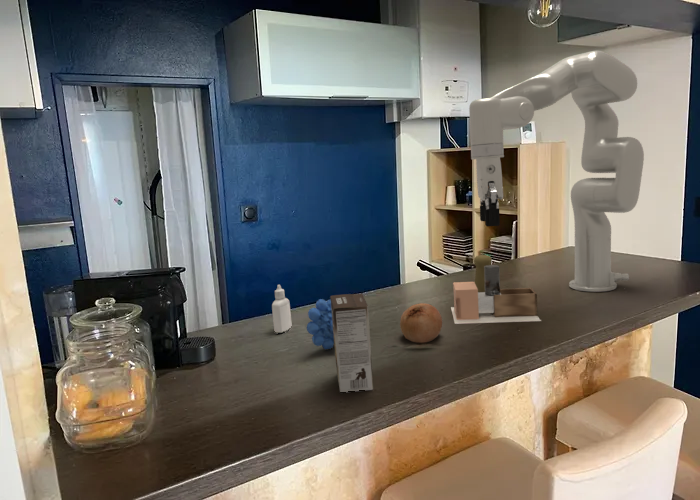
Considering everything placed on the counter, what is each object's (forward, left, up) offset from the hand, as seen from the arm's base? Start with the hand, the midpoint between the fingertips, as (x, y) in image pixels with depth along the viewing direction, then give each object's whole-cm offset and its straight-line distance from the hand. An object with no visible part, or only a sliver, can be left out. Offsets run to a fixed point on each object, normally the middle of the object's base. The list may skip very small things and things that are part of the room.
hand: (489, 223), depth 127 cm
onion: (+18, +16, -24) cm, 34 cm away
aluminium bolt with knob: (+3, 0, -22) cm, 22 cm away
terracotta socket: (+6, 0, -23) cm, 24 cm away
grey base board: (0, 0, -24) cm, 24 cm away
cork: (-1, -26, -24) cm, 35 cm away
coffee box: (+31, +37, -24) cm, 54 cm away
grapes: (+38, +20, -24) cm, 49 cm away
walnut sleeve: (-5, 0, -23) cm, 23 cm away
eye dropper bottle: (+53, +5, -24) cm, 58 cm away
